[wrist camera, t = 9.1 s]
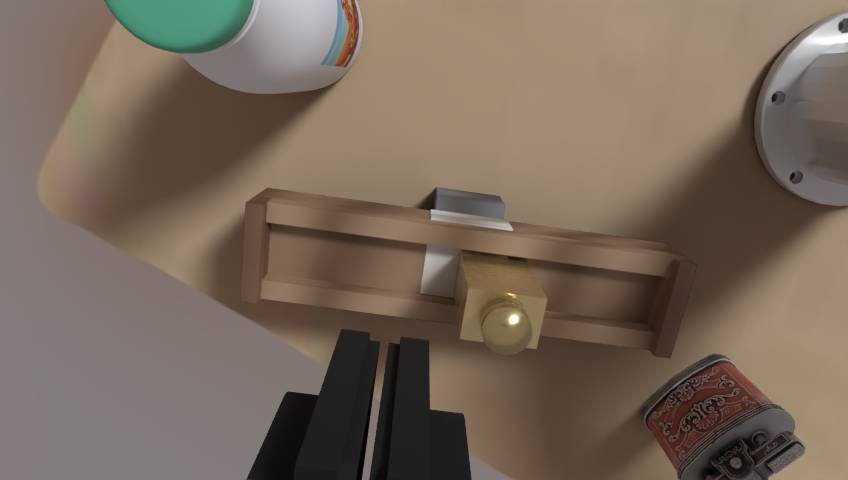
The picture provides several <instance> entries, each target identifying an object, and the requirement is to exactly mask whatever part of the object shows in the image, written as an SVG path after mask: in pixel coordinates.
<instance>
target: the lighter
mask: <svg viewBox="0 0 848 480" xmlns="http://www.w3.org/2000/svg"><path fill="white" fill-rule="evenodd" d="M640 416H641V420H642V421H643V423H644V425H645V426H646V428H647V429H648V430H649V431H650V432H651V433H653V434H654V436H655V438H656V439H657V441H658V442H659V444H660V445H661V447H662V449H663V450H664V452H665V453H666V455H667V456H668V458H669V460H670V461H671V463H672V464H673V466H674V467H675V469H676V470H677V475H678V479H679V480H768V478H769V477H770V476H772V475H773V474H774V473H775V474H776V473H778V472H779V471H780V470H782V469H783V468H785V467H786V466H788V465H789V464H790V463H792V462H793V461H795V460H796V459H798V458H799V457H801V456H802V455H803V454H804V453H805V450H806V449H805V446H804V444H803V443H802V442H801V441H800V440H799V439H798V438H797V437H796V436H795V435H794V434H793V433H794V429H795V423H794V420H793V418H792V417H791V415H790V414H789V413H787V412H786V411H785V410H784V409H783V408H782V407H780V406H779V405H776V404H774V403H773V402H772V401H770V400H769V399H768V398H767V397H766V396H765V395H764V394H763V393H762V392H761V391H760V390H759V389H758V388H757V387H756V386H754V385H753V384H752V383H751V382H750V381H749V380H748V379H747V378H746V377H745V376H744V375H743V374H742V373H741V372H739V370H738V368H737V366H736V365H735V364H734V363H733V362H732V361H731V360H730V359H729V358H728V357H726V356H725V355H722V354H712V355H709V356H707V357H705V358H704V359H702V360H700V361H698V362H696V363H694V364H692V365H691V366H689V367H688V368H686V369H685V370H683V371H682V372H680V373H679V374H677V375H676V376H674V377H673V378H672V379H670V380H669V381H668V382H667V383H666V384H665V385H663V386H662V387H661V388H660V389H659V390H658V391H657V392H656V393H655V394H654V395H653V396H652V397H651V398H650V399H649V400H648V401H647V402H646V403H645V405H644V406H643V407H642V409H641V412H640Z"/></svg>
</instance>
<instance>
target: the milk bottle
mask: <svg viewBox="0 0 848 480" xmlns="http://www.w3.org/2000/svg"><path fill="white" fill-rule="evenodd" d="M105 2H106V4H107V6H108V7H109V9H110V11H111V12H112V14H113V15H114V16H115V18H116V19H117V20H118V21H119V22H120V23H121V25H123V26H124V27H125V28H126V29H127V30H128V31H129V32H130V33H132V34H133V35H134V36H135V37H137V38H138V39H140V40H141V41H143V42H145V43H147V44H149V45H151V46H153V47H156V48H159V49H162V50H166V51H171V52H175V53H180V55H181V56H182V57H183V58H184V59H185V60H186V61H187V62H188V63H189V64H190V65H191V66H192V67H193V68H194V69H196V70H197V71H198V72H200V73H201V74H202V75H204V76H205V77H207V78H208V79H210V80H212V81H214V82H216V83H218V84H220V85H222V86H225V87H228V88H231V89H234V90H237V91H241V92H246V93H257V94H279V93H292V92H303V91H311V90H316V89H320V88H323V87H326V86H328V85H331V84H332V83H334V82H336V81H337V80H339V79H340V78H341V77H342V76H343V75H345V74H346V72H347V71H348V70H349V69H350V68H351V66H352V65H353V63H354V62H355V60H356V58H357V56H358V53H359V50H360V47H361V43H362V35H363V24H362V17H361V12H360V9H359V6H358V3H357V1H356V0H105Z"/></svg>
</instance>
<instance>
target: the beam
mask: <svg viewBox="0 0 848 480" xmlns="http://www.w3.org/2000/svg"><path fill="white" fill-rule="evenodd" d="M504 210H505V204H504V203H503V201H502V199H501V198H500V196H495V195H487V194H480V193H473V192H466V191H459V190H452V189H445V188H438V187H437V188H436V195H435V202H434V208H433V209H431V210H423V209H416V208H409V207H402V206H395V205H387V204H380V203H373V202H366V201H359V200H351V199H344V198H337V197H330V196H323V195H315V194H308V193H301V192H294V191H287V190H279V189H272V188H266V189H265V190H263V191H262V192H261V193H259V194H258V195H256V196H255V197H253V198H252V199H250V200H249V201H247V202H246V205H245V223H244V241H243V259H242V277H241V295H240V302H248V303H256V304H257V303H258V302H259V301H260V299H267V300H275V301H282V302H290V303H298V304H305V305H313V306H320V307H328V308H335V309H343V310H351V311H358V312H366V313H373V314H381V315H388V316H396V317H403V318H411V319H419V320H426V321H434V322H441V323H449V324H456V325H458V322H457V314H456V307H455V299H454V289H455V283H456V277H457V271H458V265H459V259H460V253H461V251H467V252H474V253H482V254H489V255H496V256H504V257H511V258H518V259H526V261H527V262H528V264H529V266H530V268H531V270H532V272H533V273H534V275H535V277H536V279H537V281H538V282H539V284H540V286H541V288H542V290H543V292H544V293H545V295H546V297H547V303H546V308H545V312H544V317H543V322H542V326H541V331H540V336H547V337H555V338H562V339H570V340H577V341H585V342H593V343H600V344H608V345H615V346H623V347H630V348H638V349H646V350H650V351H651V353H652V354H653V355H654V356H657V357H665V358H671V355H672V351H673V348H674V345H675V341H676V338H677V334H678V331H679V327H680V324H681V320H682V317H683V313H684V310H685V306H686V303H687V299H688V296H689V292H690V289H691V285H692V282H693V279H694V275H695V272H696V268H697V264H695V263H694V262H692V261H691V260H689V259H688V258H687V257H685V256H684V255H682V254H681V253H679V252H678V251H676V250H675V249H673V248H672V247H671V246H669V245H668V244H666V243H661V242H654V241H647V240H639V239H632V238H625V237H618V236H611V235H603V234H596V233H589V232H582V231H575V230H567V229H560V228H553V227H546V226H539V225H531V224H524V223H517V222H510V221H508V220H505V219H503V215H504Z"/></svg>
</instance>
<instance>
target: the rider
mask: <svg viewBox="0 0 848 480" xmlns="http://www.w3.org/2000/svg"><path fill="white" fill-rule="evenodd" d="M454 299H455V307H456V314H457V322H458V330H459V338H460V339H463V340H470V341H478V342H484V343H485V344H486V346H487V347H488V348H489V349H490V350H491V351H493V352H494V353H496V354H499V355H506V356H507V355H514V354H517V353H519V352H521V351H522V350H524V349H525V348H531V349H537V345H538V340H539V336H540V331H541V326H542V322H543V317H544V312H545V308H546V303H547V297H546V295H545V293H544V292H543V290H542V288H541V286H540V284H539V282H538V281H537V279H536V277H535V275H534V273H533V272H532V270H531V268H530V266H529V264H528V262H527V261H526V259H518V258H511V257H504V256H496V255H489V254H482V253H474V252H467V251H461V253H460V259H459V265H458V271H457V277H456V283H455V289H454Z"/></svg>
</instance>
